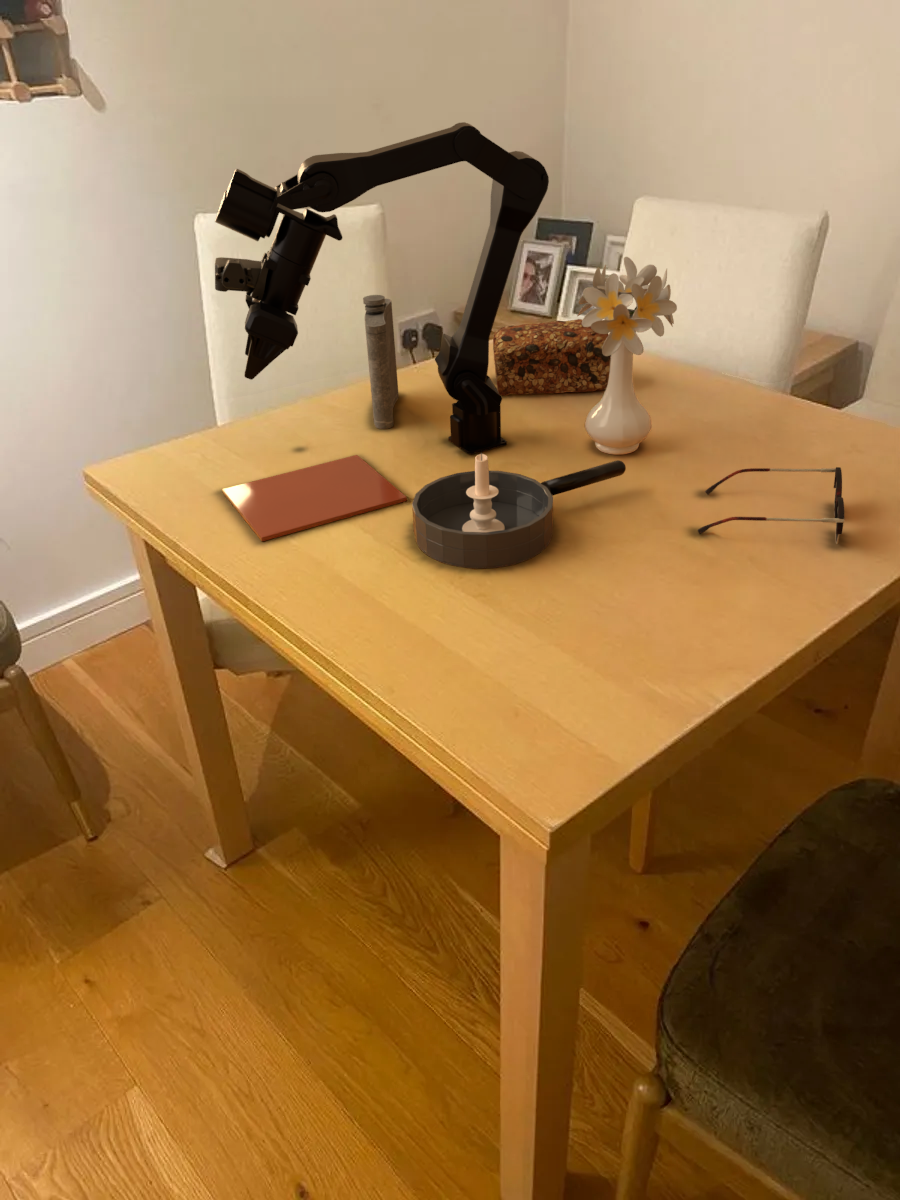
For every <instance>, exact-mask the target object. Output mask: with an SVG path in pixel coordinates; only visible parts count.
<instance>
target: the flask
mask: <svg viewBox="0 0 900 1200" xmlns="http://www.w3.org/2000/svg"><path fill="white" fill-rule="evenodd" d="M362 303H363V305H364V310H365V313H364V327H365V338H366V339H365V340H366V350H367V361H368V371H369V372H368V373H369V383H370V392H371V393H370V394H371V404H372V405H371V406H372V416H373V424H374V427H375V428H376V429H378V430H388V429H390V428H391V429H392V428H393V427H394V426H395V424H394V407H395V404H396V403H397V401H398V400H399V397H400V395H399V394H400V393H399V384H398V383H399V381H398V369H397V356H396V345H395V344H396V342H395V329H394V328H395V327H394V316H393V303H392V299H390V298H386V297H385V296H384V295H382V294H370V295H366V296H364V297H363V298H362Z"/></svg>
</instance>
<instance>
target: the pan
mask: <svg viewBox="0 0 900 1200" xmlns="http://www.w3.org/2000/svg"><path fill="white" fill-rule="evenodd" d="M541 483H542V482H540V481H538V480H537V479H535V478H532V477H529V476H527V475H524V474H521V473H516V472H511V471H510V472H509V471H503V470H489V485H491V486H494V487H496V488H497V489H498V491H499V492H498V494H497V496H495V497H493V498H492V499H491V502H492V508H491V509H493V510H495V512H496V518H495V519H497V520H499V521H501V522H502V523H503V524H504V526H505V530H501V531H493V532H463V531H462V527H463V525H464V524H465V523H466V522H467V521H469V520H472V519H471V518H470V512H471V511H472V510H474V505H473V503H474V499H473V498H470V497H469V496H468V495H467V494H466V491H467V489H468V488H470V487H472V486H475V470H471V471H461V472H457V473H452V474H448V475H446V476H442V477H439V478H437V479H435V480H433V481H431V482H429V483H426V484H425V485H423V487H422V488H420V489H419V490H418V491H417V492H416V493H415V494H414V497H413V500H412V503H411V510H412V523H413V525H412V526H413V536H414V540H415V544H417V547H418V548H419V550H420V551H422V553H423V554H425V555H426V556H428V557H430V558H431V559H432V560H434V561H437V562H439V563H442V564H446V565H449V566H453V567H459V568H465V569H495V568H496V569H497V568H504V567H508V566H509V567H510V566H512V565H516V564H520V563H523V562H525V561H529V560H530V559H532V558H534V557H536V556H537V555H539V554H541V553H542V552H543V551H544V550H545V549H547V547H548V546H549V544H550V543H551V541H552V539H553V529H554V495H553V496H552V494H551V493H550V491H549V490H548V488H547V487H546V486H544V485H543V484H541Z"/></svg>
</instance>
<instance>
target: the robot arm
mask: <svg viewBox="0 0 900 1200" xmlns="http://www.w3.org/2000/svg"><path fill="white" fill-rule="evenodd" d="M461 162H467V163H468V164H470V165H471V166H472V167H474V168H476V169H477V170H479V171H480V172H482V173H483V174H484V175H486V176H487V177H489V178H490V179H492V182H491V189H490V212H489V213H490V215H489V226H488V229H487V232H486V235H485V239H484V243H483V246H482V249H481V252H480V256H479V260H478V263H477V266H476V270H475V272H474V275H473V277H474V278H473V280H472V284H471V287H470V290H469V293H468V297H467V300H466V303H465V307H464V310H463V314H462V317H461V321H460V324H459V325H458V328H457V329H456V330H455V332H454V333H453V335H452V336H451V335H449V334H446V333H442V337H441V341H440V342H441V343H440V350H439V352H438V354H437V355H436V356H435V358H434V361H435V363H436V365H437V373H438V376H439V378H440V380H441V382H442V384H443V386H444V389H445V390H446V392H447V394H448V396H450V397H451V398H452V399H453V400H455V401H456V402H453V403H452V404H451V408H452V414H450V416H449V427H450V435H449V436H448V442H450V443H452V444H453V445H454V446H456V447H457V448H458V449H460V450H462V451H463V452H464V453H466V454H467V455H473V454H477V453H482V452H485V451H488V450H491V449H495V448H500V447H504V446H507V444H508V441H507V440H506V439H505V438H503V437H502V420H501V419H502V414H501V413H502V411H501V404H502V401H503V397H502V395H500V394H499V392H498V390H497V386H495V384H494V382H493V380H492V379H491V377H490V376H489V375H488V371H489V362H490V361H489V360H490V359H489V358H490V355H489V354H490V336H491V333H492V330H493V326H494V323H495V320H496V317H497V315H498V311H499V308H500V304H501V301H502V298H503V294H504V292H505V288H506V284H507V282H508V279H509V275H510V272H511V268H512V267H513V263H514V260H515V255H516V253H517V250H518V246H519V243H520V239H521V237H522V234H523V233H524V231H525V230H526V229H527V227H528V226H529V225H530V223H531V222H532V220H533V219H534V218H535V217H536V214H537V212H538V210H539V208H540V206H541V204H542V202H543V201H544V198H545V196H546V194H547V191H548V189H549V183H550V180H549V175H548V173H547V172H548V171H547V169H546V167H545V166H544V165H543V164H542V163H541V161H539V160H538V159H536V158H534V157H533V156H531V155H530V154H527V153H525V152H524V151H520V150H519V151H518V150H514V151H509V152H508V151H507V150H506V149H504V148H503V147H501V146H499V145H498V144H497V143H495V142H494V141H492V140H491V139H489V138H488V137H486V136H485V135H483V134H482V133H481V131H480V130H479V129H477V128H476V127H475V126H473V125H472V124H471V123H468V122H465V121H464V122H457V123H455V124H454V125H453V126H450V127H448V128H444V129H441V130H437V131H433V132H430V133H427V134H426V133H425V134H423V135H420V136H416V137H413V138H409V139H406V140H403V141H399V142H396V143H392V144H389V145H385V146H382V147H378V148H375V149H371V150H368V151H362V152H335V153H325V154H315V155H311V156H309V157H308V158H306V159H305V160H304V161H303V162H302V163H301V164H300V166H299V168H298V172H297V173H296V174H294V175H292V176H291V177H289V178H288V179H286V180H285V181H282V182H281V183H279V184H278V185H276V186H275V187H272V186H270V185H268V184H266V183H264V182H262V181H261V180H258V179H256V178H253V177H252V176H250V175H249V174H248V173H247V172H245V171H243V170H241V169H240V168H236V169H234V171H233V175H232V177H231V179H230V182H229V184H228V186H227V189H226V190H224V193H223V195H222V198H221V201H220V205H219V208H218V210H217V213H216V217H215V219H214V223H217V224H218V225H220V226H222V227H225V228H227V229H228V230H231V231H233V232H235V233H238V234H240V235H243V236H245V237H247V238H249V239H251V240H253V241H255V242H259V241H260V239H261V238H262V239H265V238H270V237H271V235H272V233H273V231H274V228H275V226H276V223H277V220H278V217H279V214H281V215H282V218H281V220H280V223H279V225H278V228H277V231H276V233H275V236H274V238H273V241H272V243H271V245H270V248H269V250H267V252H264V253H263V255H262V258H261V260H252V259H249V258H235V257H224V256H223V257H222V256H221V257H220V256H219V257H216V258H215V260H214V262H215V263H214V290H216V291H218V292H223V293H226V292H228V291H233V292H245V303H246V305H247V307H248V311H247V314H246V317H245V321H244V331H245V332H246V333H247V337H246V338H247V339H246V345H245V350H244V355H245V356H247V360H246V364H245V369H244V376H243V377H244V378H245V379H249V381H252V380H254V379H255V378H256V377H257V376H258V375H259V374H261V372H262V371H264V370H265V369H266V368H267V367H268V366H269V365H270V364H271V363H272V362H273V361H275V360H276V359H277V358H278V357H280V355H282V354H283V353H284V352H285V351H286V350H289V349H290V347H293V346H294V345H295V341H296V340H297V337H298V334H299V330H298V324H297V322H296V318H295V317H294V316H297V313H298V311H299V302H300V299H301V297H302V294H303V292H304V290H305V288H306V286H307V287H308V286H309V284H310V282H311V280H312V278H311V273H312V271H313V269H314V266H315V263H316V260H317V258H318V256H319V253H320V251H321V248H322V246H323V244H324V241H325V239H326V236H328V237H330V238H331V239H335V240H337V241H339V242H340V241H342V240H343V234H342V232H341V230H340V228H339V222H338V221H339V220H338V217H337V215H336V214H331V215H330V216H324V215H321V214H319V213H330V212H333V211H335V210H337V209H339V208H341V207H343V206H345V205H347V204H349V203H351V202H353V201H354V200H356V199H358V198H359V197H361V196H362V195H364V194H365V193H367V192H369V191H370V190H372V189H374V188H376V187H378V186H382V185H386V184H389V183H392V182H396V181H400V180H402V179H403V180H404V179H407V178H409V177H413V176H417V175H420V174H422V173H426V172H430V171H433V170H436V169H440V168H443V167H448V166H450V165H454V164H458V163H461ZM299 209H304V210H303V211H302V212H299V211H297V210H299ZM313 210H314V211H313ZM315 211H316V212H315ZM317 212H318V213H317Z"/></svg>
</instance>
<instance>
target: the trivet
mask: <svg viewBox="0 0 900 1200" xmlns="http://www.w3.org/2000/svg"><path fill="white" fill-rule="evenodd" d="M221 491H222V494H223V495H224V497H225V498H226V499H227V500H228V501H229V503H230V504H231V505H232V506H233V508H234V509H235V510H236V511H237V513H238V514H239V515H240V517H241V518H242V519H243V520H244V521H245V522H246V524H247V525H248V526H249V527H250V528H251V530H252V531H253V533H255V535H256V536H257V537H258V539H259V540H260V541H261V542H265V541H269V540H272V539H276V538H280V537H284V536H287V535H290V534H294V533H297V532H301V531H305V530H308V529H313V528H315V527H318V526H322V525H327V524H330V523H333V522H336V521H341V520H345V519H347V518H351V517H355V516H358V515H361V514H365V513H369V512H372V511H375V510H379V509H383V508H387V507H389V506H394V505H397V504H402V503H404V502H407V501H408V499H407V496H406V495H405V494H404V493H403V492H401V491H400V490H399V489H398V488H397V487H396V486H394V485H393V484H392V483H391V482H390V481H388V479H386V478H385V477H384V476H383V475H381V474H380V473H379V472H378V471H376V469H374V468H373V467H372V466H371V465H369V464H368V463H367V462H366V461H365V460H364V459H362V458H361V457H360V456H359V455H358V454H355V455H351V456H347V457H343V458H339V459H335V460H331V461H327V462H323V463H319V464H316V465H311V466H308V467H305V468H300V469H296V470H291V471H288V472H284V473H280V474H276V475H273V476H268V477H264V478H261V479H257V480H253V481H252V480H251V481H248V482H245V483H242V484H237V485H233V486H229V487H225V488H221Z"/></svg>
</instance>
